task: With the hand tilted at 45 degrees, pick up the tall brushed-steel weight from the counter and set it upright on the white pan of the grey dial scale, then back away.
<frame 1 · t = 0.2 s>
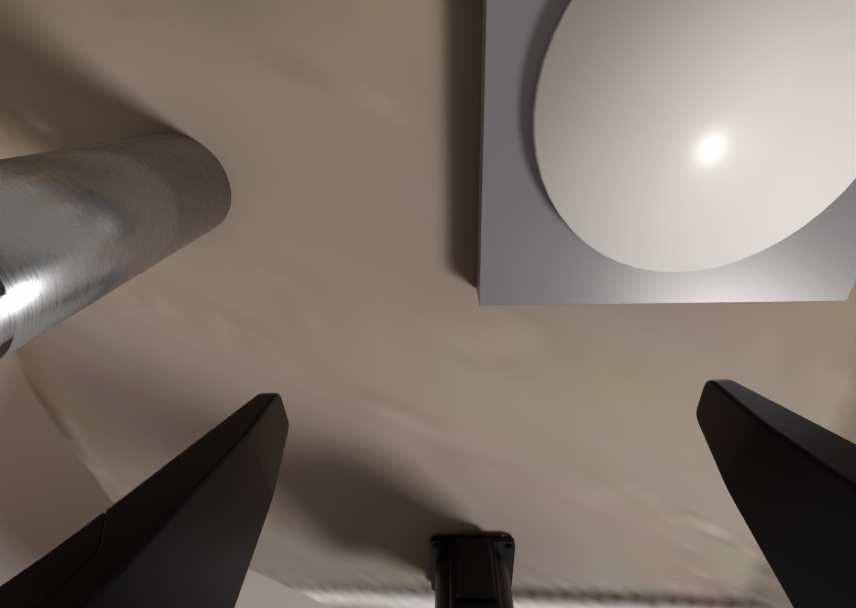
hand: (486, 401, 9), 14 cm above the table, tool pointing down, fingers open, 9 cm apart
steel weight: (181, 185, 22), on the table
dial scale: (698, 24, 18), on the table
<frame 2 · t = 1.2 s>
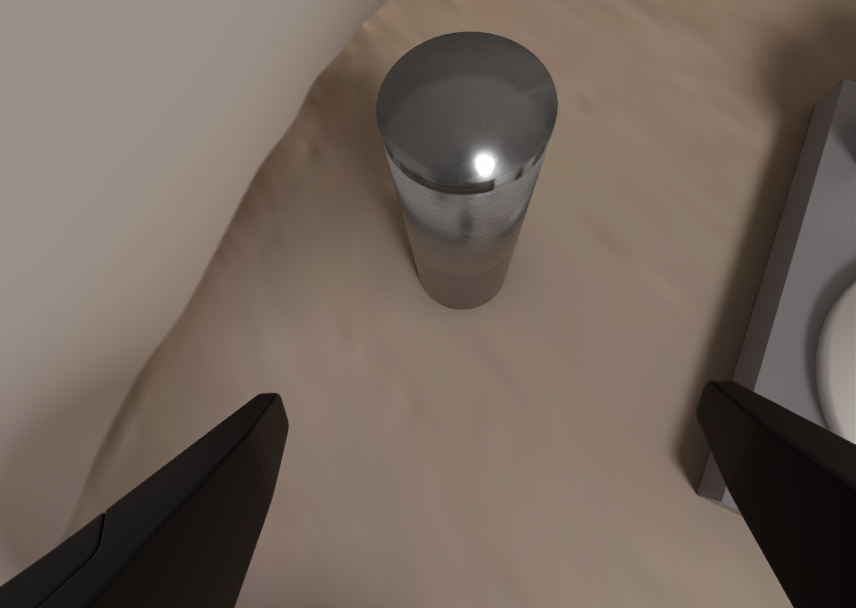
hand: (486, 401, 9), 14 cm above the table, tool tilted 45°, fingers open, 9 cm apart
steel weight: (461, 267, 24), on the table
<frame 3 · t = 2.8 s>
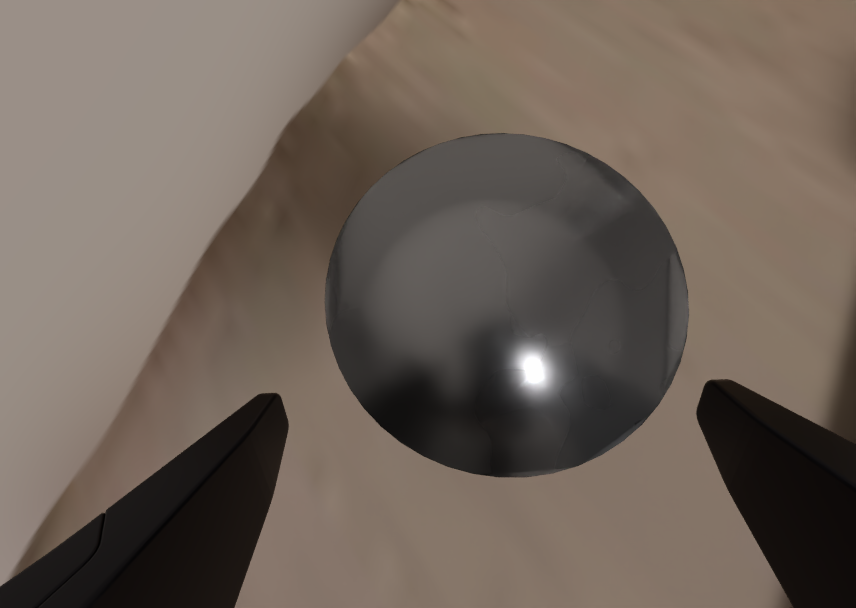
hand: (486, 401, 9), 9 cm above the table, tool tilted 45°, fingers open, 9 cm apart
steel weight: (471, 381, 18), on the table
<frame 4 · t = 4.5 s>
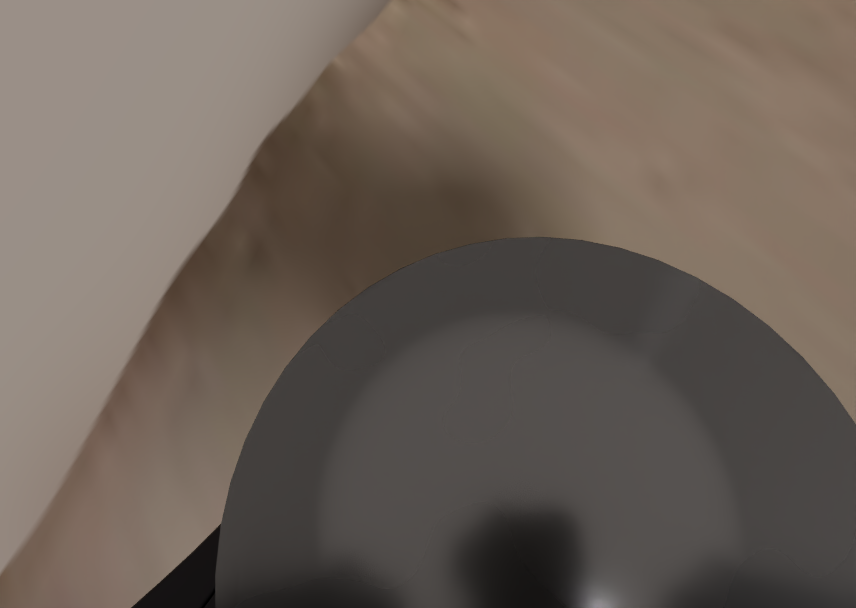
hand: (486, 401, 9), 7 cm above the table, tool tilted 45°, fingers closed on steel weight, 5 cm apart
steel weight: (476, 450, 16), on the table, touching gripper
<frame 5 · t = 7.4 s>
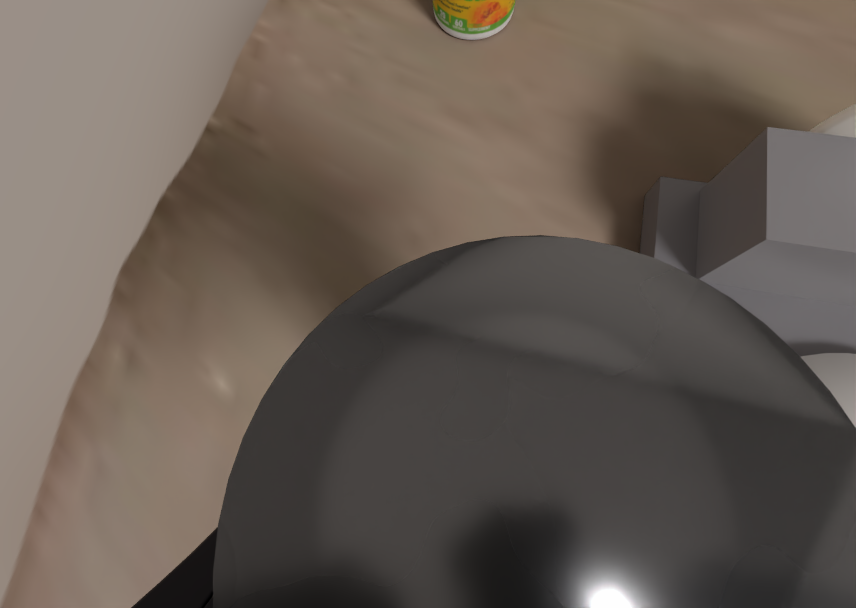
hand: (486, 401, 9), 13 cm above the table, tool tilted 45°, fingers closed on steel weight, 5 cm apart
supplement bottle: (473, 13, 29), on the table
steel weight: (475, 449, 16), point 6 cm above the table, touching gripper
dial scale: (819, 445, 21), on the table
when the fingers open (11 cm above the table, at t = 10.5 s): steel weight stays where it is, resting on dial scale.
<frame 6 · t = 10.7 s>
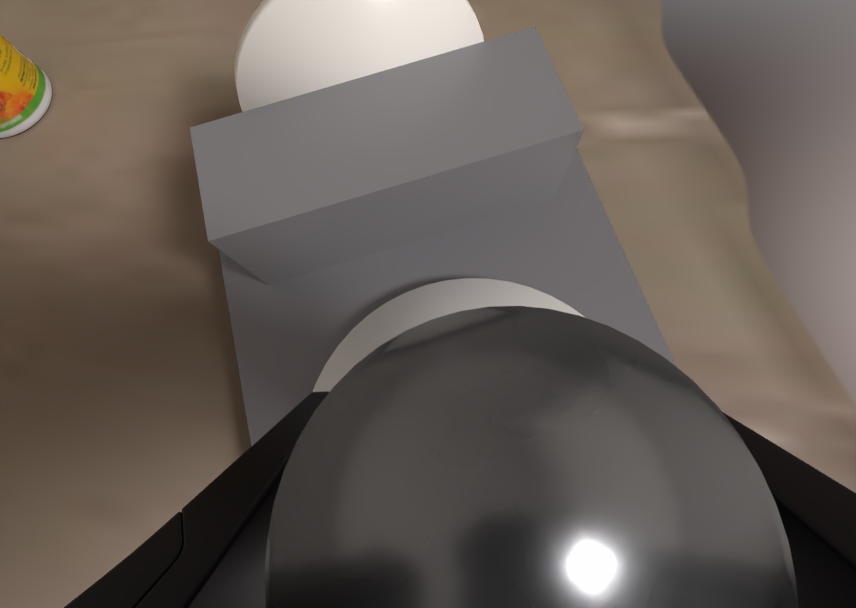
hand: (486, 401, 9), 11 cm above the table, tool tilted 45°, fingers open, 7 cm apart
supplement bottle: (17, 105, 27), on the table
steel weight: (474, 451, 17), point 3 cm above the table, touching dial scale
dial scale: (453, 380, 20), on the table
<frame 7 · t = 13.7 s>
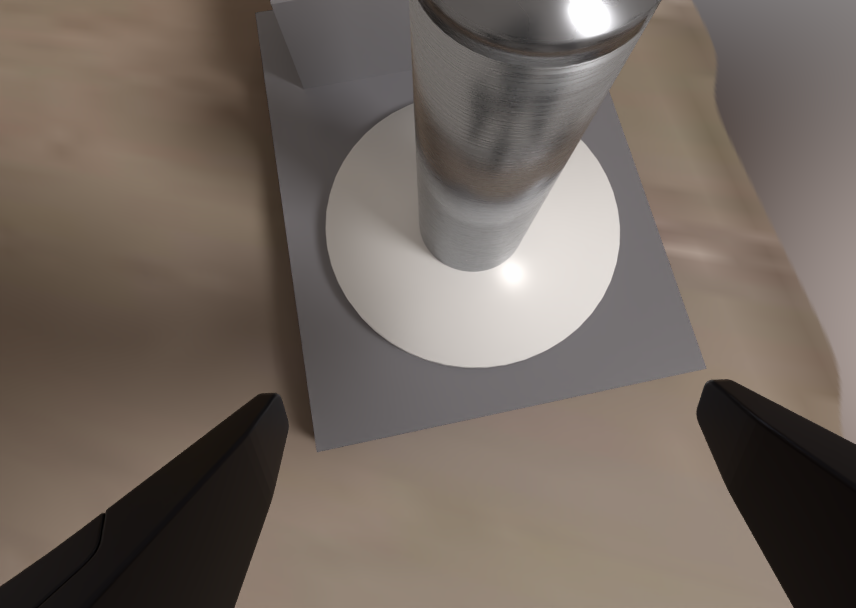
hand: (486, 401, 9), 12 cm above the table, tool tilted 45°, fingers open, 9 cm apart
steel weight: (471, 221, 20), point 3 cm above the table, touching dial scale
dial scale: (455, 191, 24), on the table
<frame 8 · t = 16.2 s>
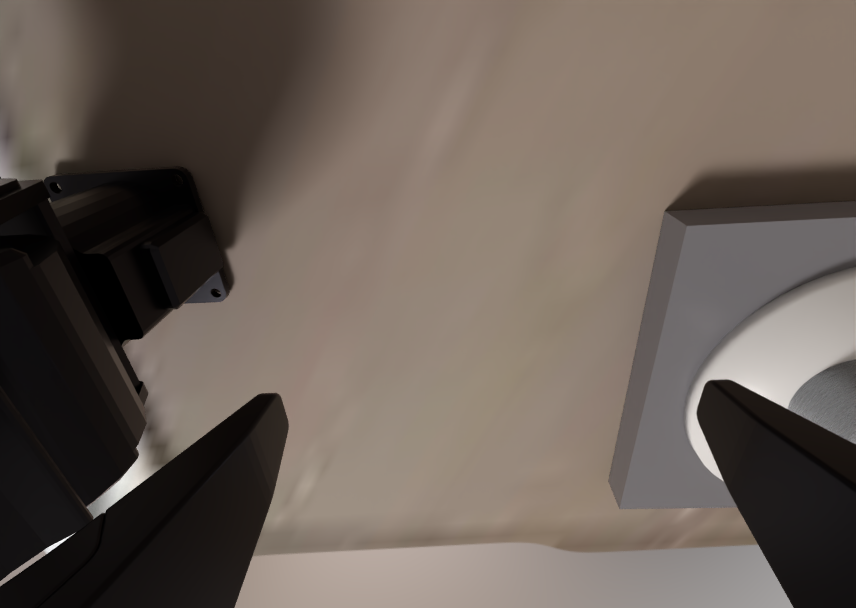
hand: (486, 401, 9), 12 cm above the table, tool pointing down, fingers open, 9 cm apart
steel weight: (844, 400, 21), point 3 cm above the table, touching dial scale
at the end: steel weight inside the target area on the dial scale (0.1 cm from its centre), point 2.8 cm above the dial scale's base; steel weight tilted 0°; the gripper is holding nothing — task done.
